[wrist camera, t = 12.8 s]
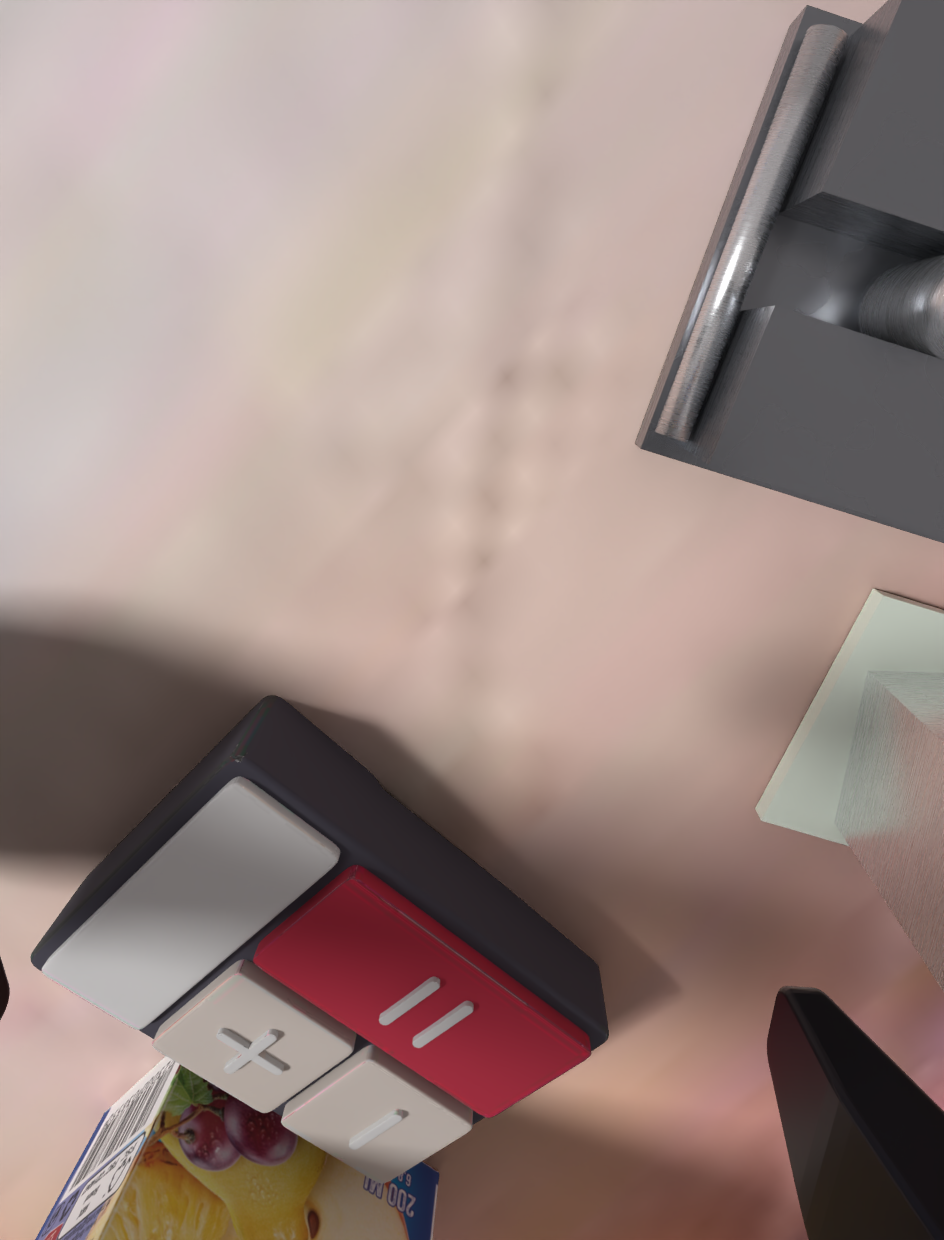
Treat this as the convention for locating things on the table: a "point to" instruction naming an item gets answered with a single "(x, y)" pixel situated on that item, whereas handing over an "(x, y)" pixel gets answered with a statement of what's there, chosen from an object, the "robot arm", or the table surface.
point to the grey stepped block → (901, 802)
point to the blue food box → (224, 1176)
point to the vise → (827, 282)
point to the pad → (848, 711)
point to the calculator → (325, 953)
